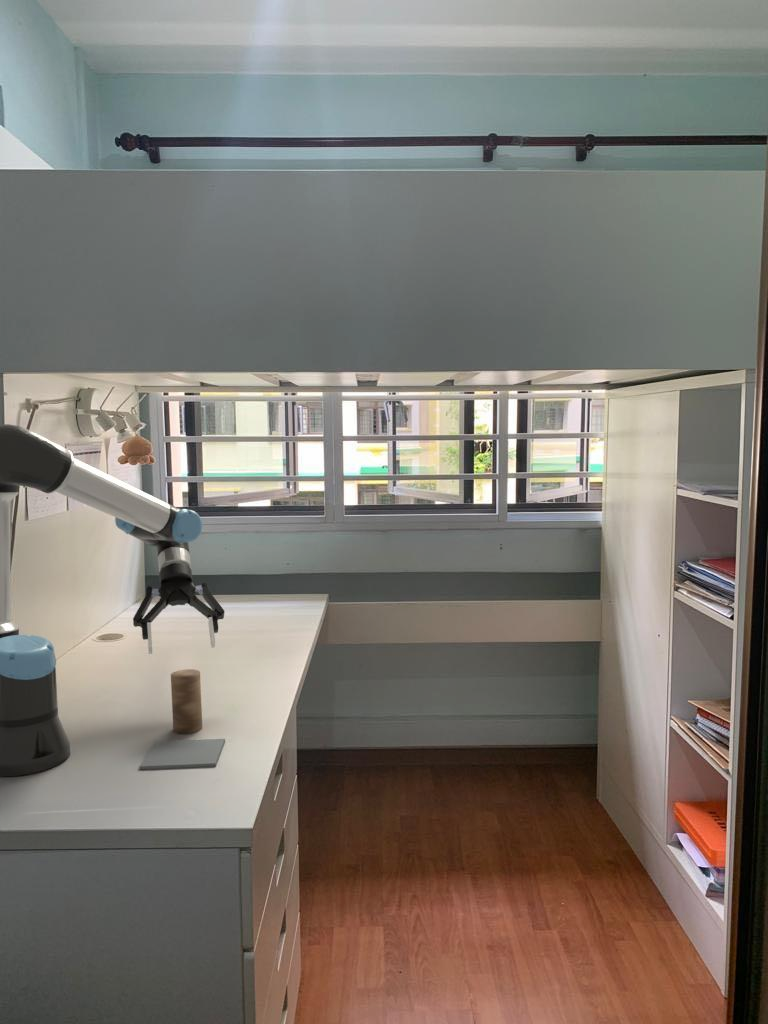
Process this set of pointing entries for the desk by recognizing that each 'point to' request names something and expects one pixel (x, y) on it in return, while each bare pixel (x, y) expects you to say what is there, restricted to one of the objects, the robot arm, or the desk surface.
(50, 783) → the desk surface
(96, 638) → the desk surface
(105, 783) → the desk surface
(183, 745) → the slate mat
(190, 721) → the walnut canister
